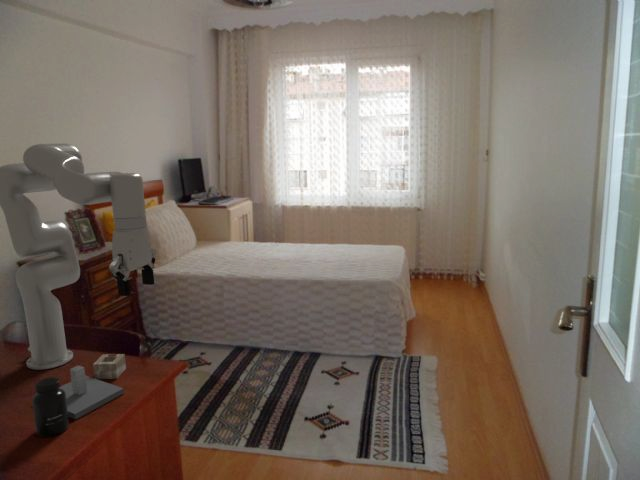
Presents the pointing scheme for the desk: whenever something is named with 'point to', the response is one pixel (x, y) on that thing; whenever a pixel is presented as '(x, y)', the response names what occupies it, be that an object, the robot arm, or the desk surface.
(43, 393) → the supplement bottle
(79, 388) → the steel post
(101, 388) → the hub plate
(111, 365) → the beige block with hole
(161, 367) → the desk surface
